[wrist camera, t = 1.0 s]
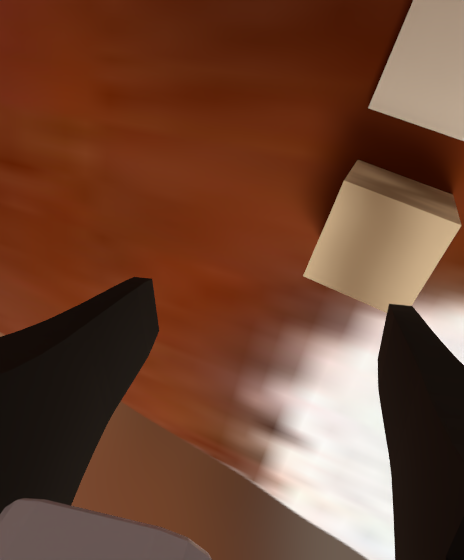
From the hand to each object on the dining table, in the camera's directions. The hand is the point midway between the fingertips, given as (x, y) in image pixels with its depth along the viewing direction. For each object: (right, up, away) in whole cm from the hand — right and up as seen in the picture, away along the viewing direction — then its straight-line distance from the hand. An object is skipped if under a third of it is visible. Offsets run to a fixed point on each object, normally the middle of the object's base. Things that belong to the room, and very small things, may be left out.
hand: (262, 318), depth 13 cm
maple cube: (+7, +5, +10) cm, 13 cm away
